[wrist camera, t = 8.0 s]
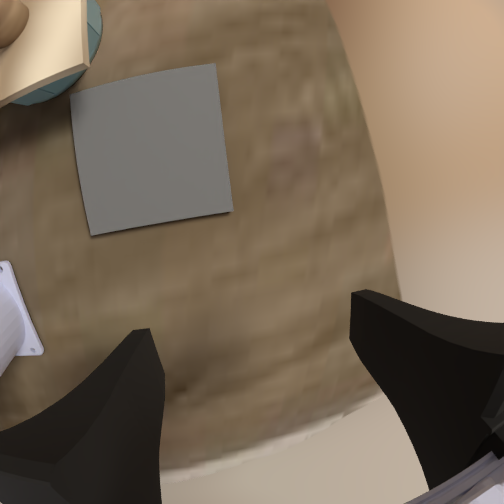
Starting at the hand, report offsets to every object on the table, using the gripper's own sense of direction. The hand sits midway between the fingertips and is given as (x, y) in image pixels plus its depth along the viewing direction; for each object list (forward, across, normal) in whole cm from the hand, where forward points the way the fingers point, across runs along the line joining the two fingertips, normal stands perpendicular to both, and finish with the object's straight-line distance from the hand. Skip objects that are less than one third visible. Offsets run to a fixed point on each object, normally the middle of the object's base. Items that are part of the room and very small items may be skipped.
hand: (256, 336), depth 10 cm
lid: (+6, +11, -16) cm, 20 cm away
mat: (+10, +4, -7) cm, 13 cm away
